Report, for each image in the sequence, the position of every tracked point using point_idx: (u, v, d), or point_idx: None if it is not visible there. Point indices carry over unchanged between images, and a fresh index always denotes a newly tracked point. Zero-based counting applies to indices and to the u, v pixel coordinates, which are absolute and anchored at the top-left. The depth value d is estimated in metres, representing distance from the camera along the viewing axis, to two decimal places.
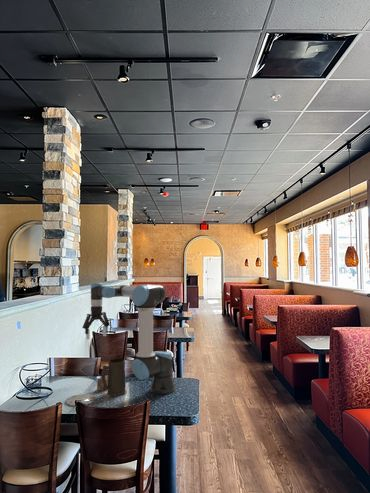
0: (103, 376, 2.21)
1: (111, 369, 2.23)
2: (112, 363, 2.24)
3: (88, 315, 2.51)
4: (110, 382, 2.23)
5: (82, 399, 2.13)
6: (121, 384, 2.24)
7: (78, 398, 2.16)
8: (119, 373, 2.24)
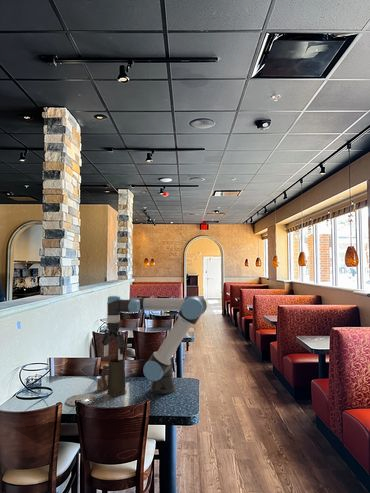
0: (103, 376, 2.21)
1: (111, 369, 2.23)
2: (112, 363, 2.24)
3: (105, 330, 2.31)
4: (110, 382, 2.23)
5: (82, 399, 2.13)
6: (121, 384, 2.24)
7: (78, 398, 2.16)
8: (119, 373, 2.24)
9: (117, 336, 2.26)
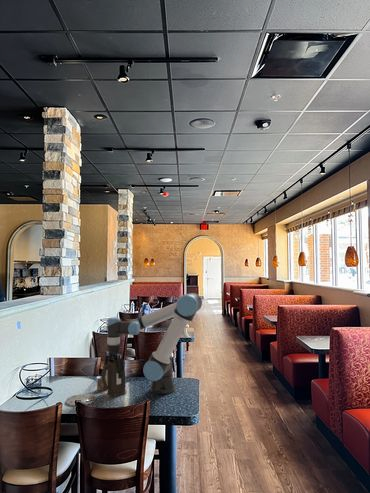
0: (103, 376, 2.21)
1: (111, 369, 2.23)
2: (112, 363, 2.24)
3: None
4: (110, 382, 2.23)
5: (82, 399, 2.13)
6: (121, 384, 2.24)
7: (78, 398, 2.16)
8: None
9: None
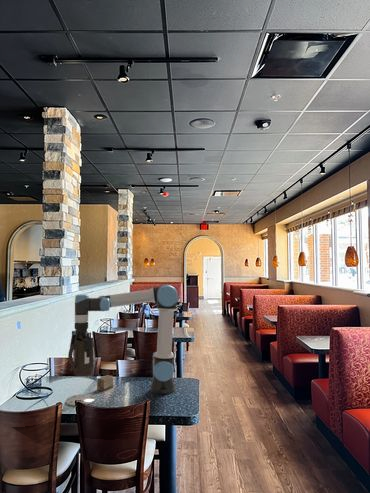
0: (70, 355, 2.10)
1: (79, 348, 2.13)
2: (80, 342, 2.13)
3: (72, 332, 2.19)
4: (77, 361, 2.13)
5: (82, 399, 2.13)
6: (89, 364, 2.14)
7: (78, 398, 2.16)
8: None
9: None
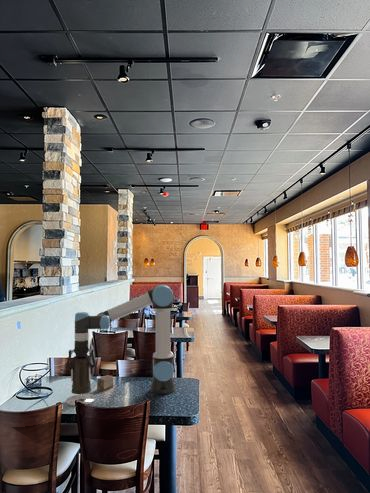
0: (78, 374, 2.08)
1: (82, 366, 2.13)
2: (83, 359, 2.14)
3: None
4: (81, 380, 2.12)
5: (82, 399, 2.13)
6: (89, 380, 2.18)
7: (78, 398, 2.16)
8: (88, 369, 2.17)
9: None
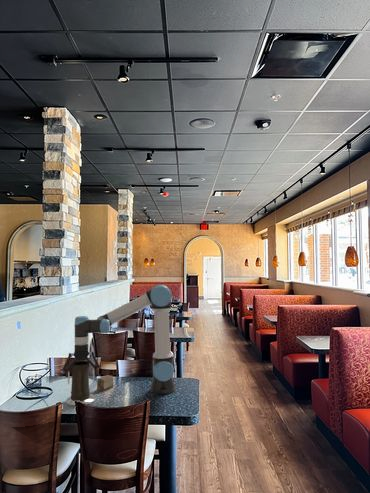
0: (80, 381, 2.08)
1: (83, 372, 2.13)
2: (84, 365, 2.14)
3: None
4: (82, 386, 2.12)
5: None
6: (88, 386, 2.18)
7: None
8: (88, 374, 2.17)
9: None
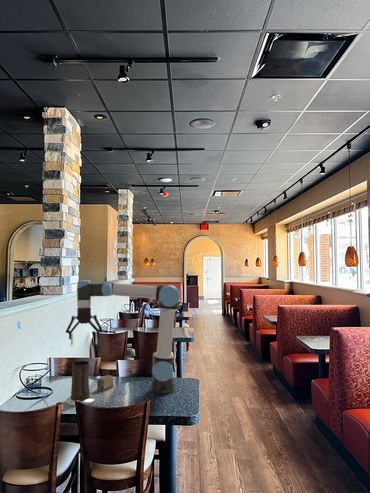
0: (80, 381, 2.08)
1: (83, 372, 2.13)
2: (84, 365, 2.14)
3: None
4: (82, 386, 2.12)
5: None
6: (88, 386, 2.18)
7: None
8: (88, 374, 2.17)
9: None
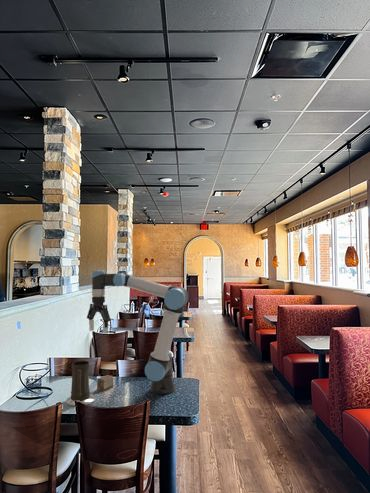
0: (80, 381, 2.08)
1: (83, 372, 2.13)
2: (84, 365, 2.14)
3: None
4: (82, 386, 2.12)
5: None
6: (88, 386, 2.18)
7: None
8: (88, 374, 2.17)
9: None
